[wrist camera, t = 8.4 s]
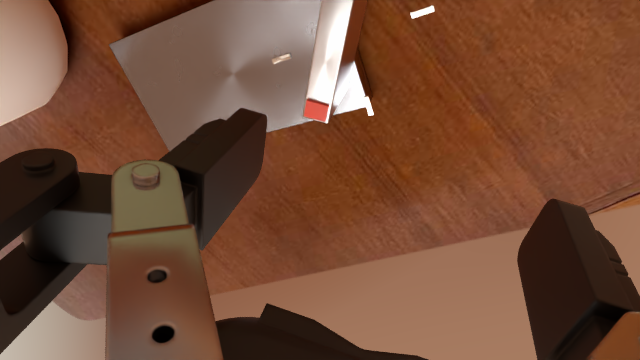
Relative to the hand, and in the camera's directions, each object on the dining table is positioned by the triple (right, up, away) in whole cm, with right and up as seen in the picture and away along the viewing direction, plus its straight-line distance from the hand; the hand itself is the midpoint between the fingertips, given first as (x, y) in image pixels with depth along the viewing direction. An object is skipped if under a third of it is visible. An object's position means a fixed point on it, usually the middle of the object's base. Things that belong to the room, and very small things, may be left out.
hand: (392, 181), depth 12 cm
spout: (0, +9, +15) cm, 18 cm away
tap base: (-5, +9, +19) cm, 22 cm away
